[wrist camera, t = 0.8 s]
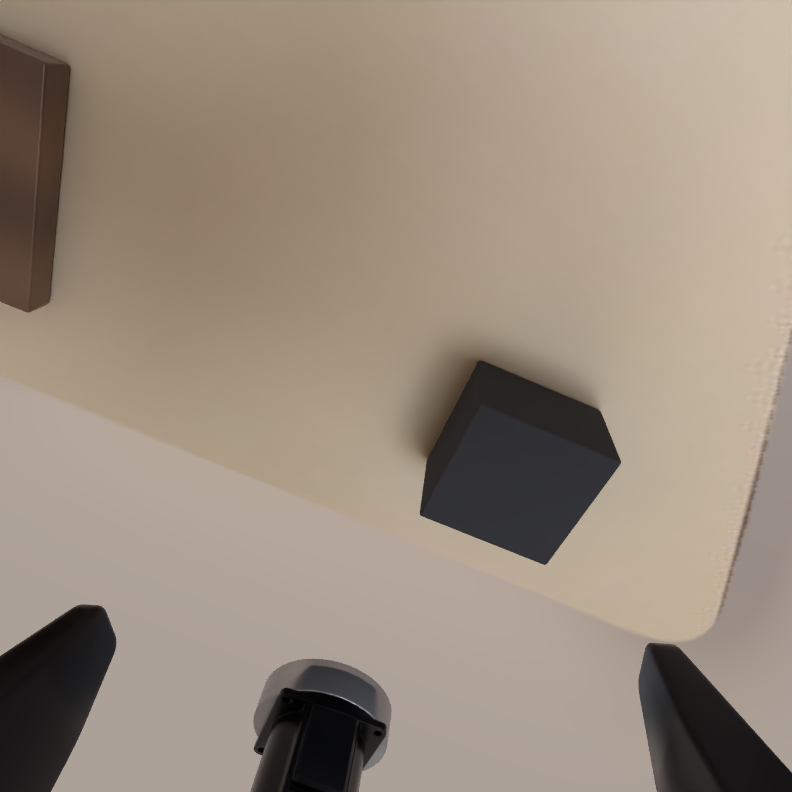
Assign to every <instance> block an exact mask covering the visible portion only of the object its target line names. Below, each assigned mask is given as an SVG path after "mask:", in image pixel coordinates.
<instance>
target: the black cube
mask: <svg viewBox="0 0 792 792" xmlns="http://www.w3.org/2000/svg"><path fill="white" fill-rule="evenodd" d="M620 464H621V460H620V458H619V456H618V453H617V451H616V448H615V446H614V443H613V441H612V438H611V436H610V433H609V431H608V428H607V426H606V423H605V421H604V419H603V416H602V414H601V412H600V411H599V410H597V409H595V408H592V407H590V406H587V405H585V404H583V403H580V402H578V401H576V400H573V399H571V398H568V397H566V396H564V395H561V394H559V393H557V392H554V391H552V390H549V389H547V388H545V387H542V386H540V385H538V384H535V383H533V382H530V381H528V380H526V379H523V378H521V377H519V376H516V375H514V374H511V373H509V372H507V371H504V370H502V369H500V368H497V367H495V366H492V365H490V364H488V363H485V362H483V361H479V362H478V364H477V366H476V367H475V369H474V371H473V373H472V375H471V377H470V379H469V381H468V383H467V385H466V387H465V389H464V391H463V392H462V394H461V396H460V398H459V400H458V402H457V404H456V406H455V408H454V410H453V412H452V414H451V415H450V417H449V419H448V421H447V423H446V425H445V427H444V429H443V431H442V433H441V435H440V437H439V438H438V440H437V442H436V444H435V446H434V448H433V450H432V452H431V454H430V456H429V458H428V460H427V464H426V472H425V479H424V486H423V494H422V501H421V509H420V515H421V516H423V517H426V518H428V519H431V520H433V521H436V522H438V523H441V524H443V525H446V526H448V527H451V528H453V529H456V530H458V531H461V532H463V533H466V534H468V535H471V536H473V537H476V538H478V539H481V540H483V541H486V542H488V543H491V544H493V545H496V546H498V547H501V548H504V549H506V550H509V551H511V552H514V553H516V554H519V555H521V556H524V557H526V558H529V559H531V560H534V561H536V562H539V563H541V564H544V565H546V564H547V563H548V562H549V560H550V559H551V558H552V556H553V555H554V553H555V552H556V551H557V549H558V548H559V547H560V545H561V544H562V543H563V541H564V540H565V539H566V537H567V536H568V534H569V533H570V532H571V530H572V529H573V528H574V526H575V525H576V524H577V522H578V521H579V520H580V518H581V517H582V516H583V514H584V513H585V511H586V510H587V509H588V507H589V506H590V505H591V503H592V502H593V501H594V499H595V498H596V497H597V495H598V494H599V492H600V491H601V490H602V488H603V487H604V486H605V484H606V483H607V482H608V480H609V479H610V478H611V476H612V475H613V474H614V472H615V471H616V469H617V468H618V467H619V465H620Z"/></svg>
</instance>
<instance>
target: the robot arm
mask: <svg viewBox="0 0 792 792" xmlns="http://www.w3.org/2000/svg"><path fill="white" fill-rule="evenodd" d="M115 648H116V636H115V633H114V631H113V629H112V626H111V623H110V621H109V618H108V616H107V613H106V611H105V609H104V608H103V607H101V606H98V605H78V606H76V607H74V608H72V609H71V610H69V611H68V612H66V613H65V614H63V615H62V616H60V617H58V618H57V619H55V620H54V621H53V622H51V623H49V624H48V625H47V626H45V627H43V628H42V629H40V630H39V631H37V632H36V633H34V634H33V635H31V636H30V637H28V638H27V639H26V640H24V641H22V642H21V643H19V644H18V645H16V646H15V647H13V648H12V649H10V650H9V651H7V652H6V653H4V654H3V655H1V656H0V792H51V790H52V788H53V786H54V784H55V783H56V781H57V779H58V777H59V775H60V773H61V771H62V769H63V767H64V766H65V764H66V762H67V760H68V758H69V756H70V754H71V752H72V750H73V748H74V746H75V744H76V742H77V740H78V737H79V735H80V733H81V731H82V729H83V726H84V724H85V722H86V719H87V717H88V715H89V712H90V710H91V707H92V705H93V702H94V700H95V698H96V696H97V693H98V691H99V688H100V686H101V684H102V681H103V679H104V676H105V674H106V672H107V669H108V667H109V664H110V662H111V660H112V657H113V655H114V652H115ZM639 694H640V700H641V706H642V711H643V717H644V723H645V728H646V734H647V739H648V745H649V751H650V756H651V761H652V767H653V773H654V779H655V784H656V789H657V792H792V773H791V772H790V770H789V769H788V768H787V767H786V766H785V765H784V764H783V763H782V762H781V760H780V759H779V758H778V757H777V756H776V755H775V754H774V753H773V752H772V750H771V749H770V748H769V747H768V746H767V745H766V744H765V743H764V741H763V740H762V739H761V738H760V737H759V736H758V735H757V734H756V733H755V731H754V730H753V729H752V728H751V727H750V726H749V725H748V724H747V723H746V721H745V720H744V719H743V718H742V717H741V716H740V715H739V714H738V713H737V712H736V711H735V709H734V708H733V707H732V706H731V705H730V704H729V703H728V702H727V701H726V699H725V698H724V697H723V696H722V695H721V694H720V693H719V691H718V690H717V689H716V688H715V687H714V686H713V685H712V684H711V683H710V681H709V680H708V679H707V678H706V677H705V676H704V675H703V674H702V673H701V671H700V670H699V669H698V668H697V667H696V666H695V665H694V664H693V663H692V661H691V660H690V659H689V658H688V657H687V656H686V655H685V654H684V653H683V651H682V650H681V649H680V648H678V647H677V646H675V645H673V644H663V643H649V644H648V645H647V646H646V648H645V652H644V657H643V661H642V666H641V670H640V675H639ZM386 732H387V726H386V724H385V723H383V722H381V721H378V720H375V719H372V718H370V717H367V716H364V715H362V714H359V713H356V712H353V711H351V710H348V709H345V708H343V707H340V706H337V705H334V704H332V703H329V702H326V701H324V700H321V699H318V698H315V697H313V696H310V695H307V694H305V693H302V692H299V691H297V690H294V689H291V688H283V689H281V690H280V693H279V695H278V697H277V699H276V701H275V703H274V705H273V707H272V709H271V711H270V713H269V715H268V717H267V720H266V722H265V724H264V726H263V728H262V730H261V732H260V734H259V736H258V738H257V740H256V743H255V747H254V751H255V752H256V753H258V754H260V755H262V758H261V761H260V764H259V767H258V770H257V773H256V776H255V780H254V783H253V786H252V789H251V792H359V786H360V780H361V774H362V770H363V769H364V767H365V766H366V764H367V763H368V761H369V760H370V759H371V757H372V756H373V754H374V753H375V751H376V750H377V748H378V747H379V745H380V744H381V742H382V741H383V740H384V738H385V737H386Z"/></svg>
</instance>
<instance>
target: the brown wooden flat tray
mask: <svg viewBox="0 0 792 792" xmlns="http://www.w3.org/2000/svg"><path fill="white" fill-rule="evenodd" d="M69 72H70V66H69V65H68V64H66V63H64V62H62V61H59V60H57V59H55V58H52V57H50V56H48V55H46V54H43V53H41V52H39V51H36V50H34V49H32V48H30V47H27V46H25V45H23V44H20V43H18V42H16V41H14V40H11V39H9V38H7V37H4V36H2V35H0V302H3V303H5V304H8V305H10V306H12V307H15V308H17V309H20V310H22V311H25V312H31V311H33V310H36V309H38V308H40V307H42V306H44V305H46V304H48V303H49V297H50V286H51V275H52V263H53V252H54V241H55V230H56V218H57V207H58V196H59V185H60V173H61V162H62V151H63V140H64V128H65V117H66V106H67V95H68V83H69Z"/></svg>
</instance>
